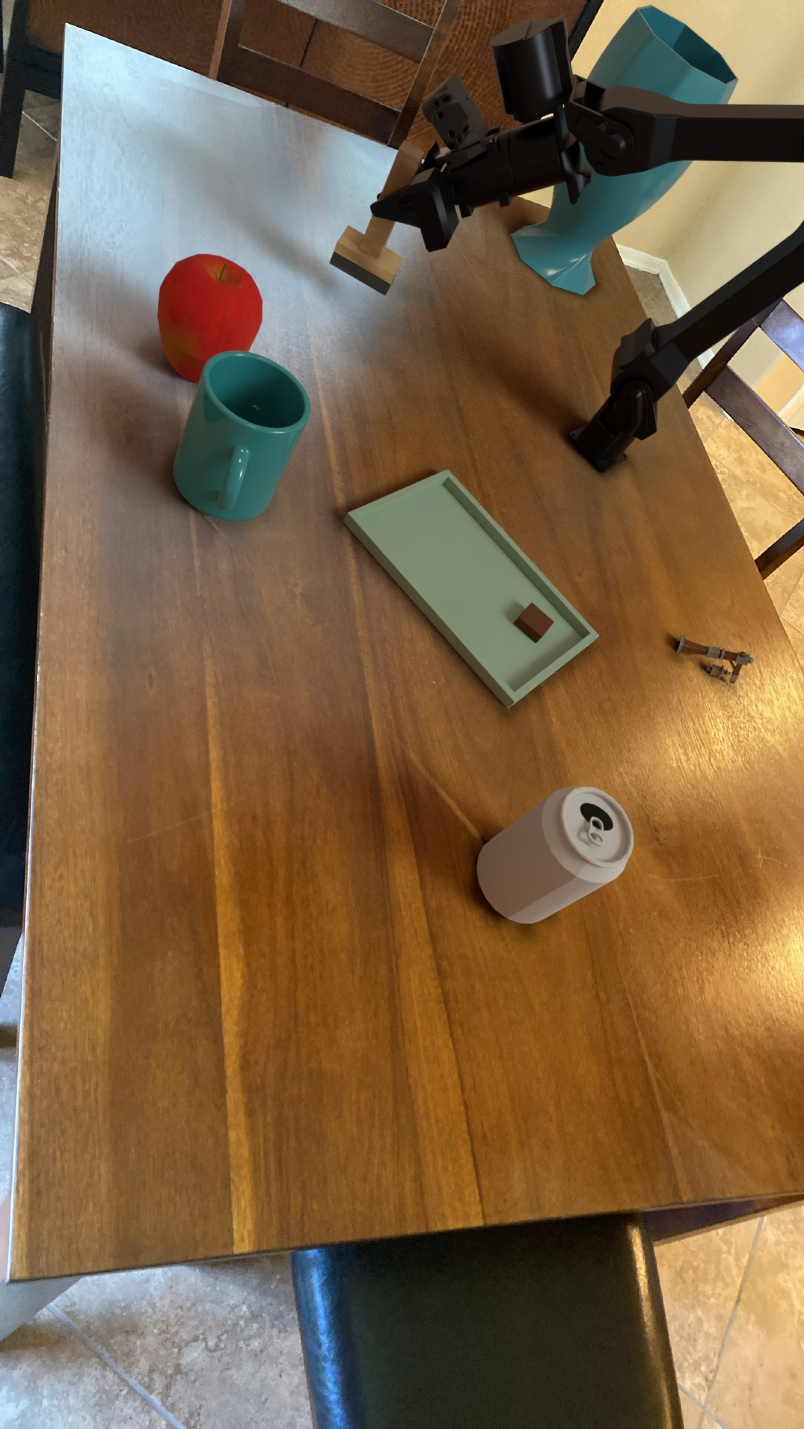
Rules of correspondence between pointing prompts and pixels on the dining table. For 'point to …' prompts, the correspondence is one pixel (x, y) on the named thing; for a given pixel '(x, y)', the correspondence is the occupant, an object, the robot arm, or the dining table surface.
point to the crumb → (533, 622)
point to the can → (555, 854)
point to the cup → (239, 435)
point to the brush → (377, 232)
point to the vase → (564, 242)
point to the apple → (206, 312)
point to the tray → (471, 582)
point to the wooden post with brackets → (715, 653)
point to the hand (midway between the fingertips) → (374, 205)
